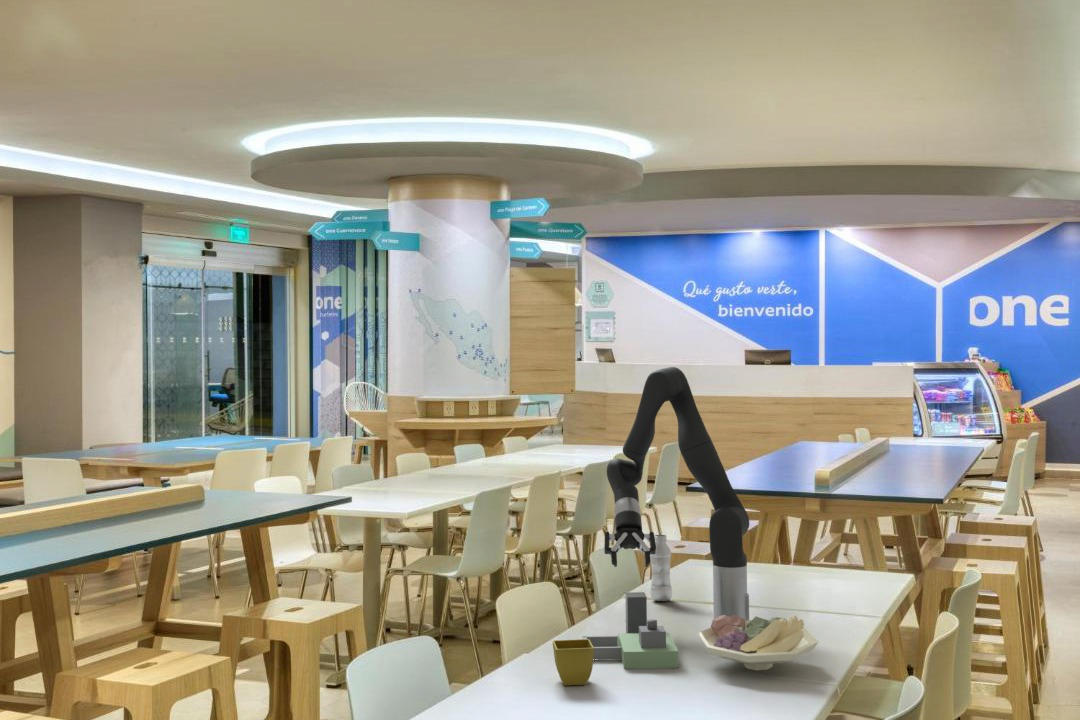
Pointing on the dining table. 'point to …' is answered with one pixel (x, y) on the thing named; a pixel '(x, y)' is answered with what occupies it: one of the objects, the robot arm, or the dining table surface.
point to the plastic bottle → (661, 570)
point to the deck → (638, 647)
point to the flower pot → (573, 660)
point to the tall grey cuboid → (635, 611)
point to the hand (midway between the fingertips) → (631, 565)
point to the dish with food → (758, 640)
